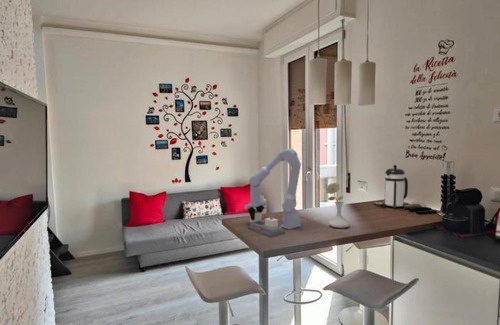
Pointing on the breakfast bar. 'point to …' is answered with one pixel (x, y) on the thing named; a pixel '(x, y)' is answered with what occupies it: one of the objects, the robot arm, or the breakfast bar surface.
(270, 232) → the grey compartment holder
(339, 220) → the flower in vase
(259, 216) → the plug
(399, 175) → the coffee press
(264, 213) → the ink cartridge box
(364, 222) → the breakfast bar surface
